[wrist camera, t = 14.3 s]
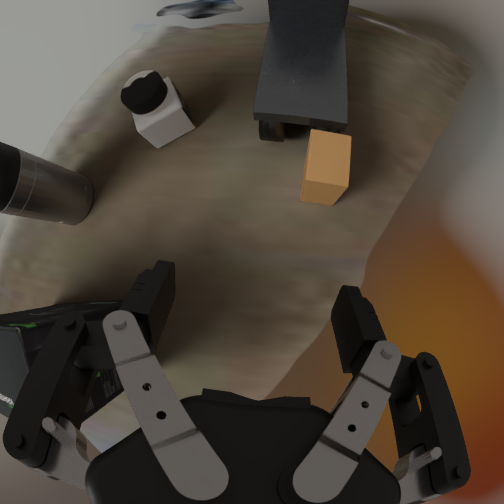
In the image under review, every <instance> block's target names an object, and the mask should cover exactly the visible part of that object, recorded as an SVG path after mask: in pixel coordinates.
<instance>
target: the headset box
mask: <svg viewBox="0 0 504 504" xmlns="http://www.w3.org/2000/svg"><path fill="white" fill-rule="evenodd" d="M122 303H123V301H98V302H85V303H72V304H60V305H52V306H48V307H42V308H37V309H31V310H25V311H19V312H13V313H7V314H1V315H0V413H1V414H3V415H4V416H6V417H8V418H9V416H10V413H11V411H12V408H13V406H14V403H15V401H16V399H17V396H18V394H19V392H20V389H21V387H22V385H23V383H24V381H25V378H26V376H27V374H28V372H29V370H30V368H31V366H32V364H33V362H34V360H35V358H36V356H37V354H38V352H39V350H40V349H41V347H42V345H43V343H44V341H45V339H46V338H47V336H48V334H49V332H50V331H51V329H52V327H53V325H54V324H55V322H56V320H57V319H58V318H59V317H60V316H61V315H62V314H64V313H66V312H70V311H75V312H79V313H80V314H82V315H83V317H84V319H85V321H102V320H104V318H105V317H106V316H107V315H108V314H110V313H112V312H114V311H118V310H119V308H120V307H121V305H122ZM123 391H124V388H123V385H122V383H121V380H120V377H119V375H118V372H117V369H100V370H99V373H98V375H97V378H96V381H95V384H94V387H93V389H92V392H91V395H90V398H89V401H88V404H87V407H86V411H85V414H84V417H83V420H82V422H84V421H85V420H86V419H88V418H89V417H90V416H92V415H93V414H94V413H96V412H97V411H98V410H100V409H101V408H102V407H104V406H105V405H106V404H107V403H109V402H110V401H111V400H113V399H114V398H115V397H117V396H118V395H119V394H121V393H122V392H123Z"/></svg>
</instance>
